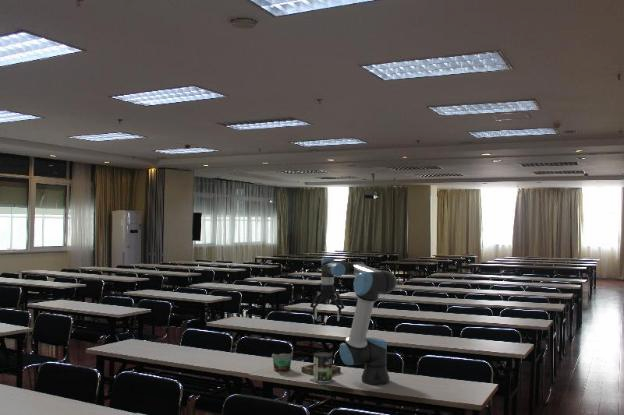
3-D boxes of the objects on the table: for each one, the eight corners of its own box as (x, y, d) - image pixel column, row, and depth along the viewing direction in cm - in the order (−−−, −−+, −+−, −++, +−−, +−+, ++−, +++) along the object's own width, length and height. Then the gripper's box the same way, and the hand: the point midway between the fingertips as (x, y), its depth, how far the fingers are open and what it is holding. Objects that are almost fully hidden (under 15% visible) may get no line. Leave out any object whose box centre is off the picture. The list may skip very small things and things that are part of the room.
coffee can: (335, 379, 323) (336, 353, 324) (324, 383, 315) (325, 357, 315) (320, 376, 330) (321, 351, 330) (309, 380, 321) (309, 354, 322)
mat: (335, 381, 322) (335, 380, 322) (324, 384, 316) (324, 383, 316) (320, 377, 329) (320, 376, 329) (309, 380, 323) (309, 379, 323)
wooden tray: (340, 372, 341) (340, 367, 341) (322, 377, 329) (322, 372, 329) (320, 367, 352) (320, 362, 352) (301, 372, 340) (301, 366, 340)
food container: (273, 373, 337) (273, 355, 337) (271, 370, 343) (271, 353, 343) (294, 371, 340) (294, 354, 340) (292, 369, 346) (292, 352, 346)
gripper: (349, 284, 350) (348, 319, 349) (308, 282, 355) (307, 317, 355) (347, 285, 342) (346, 322, 342) (305, 283, 348) (305, 319, 348)
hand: (327, 320), depth 348 cm, fingers open, 13 cm apart
